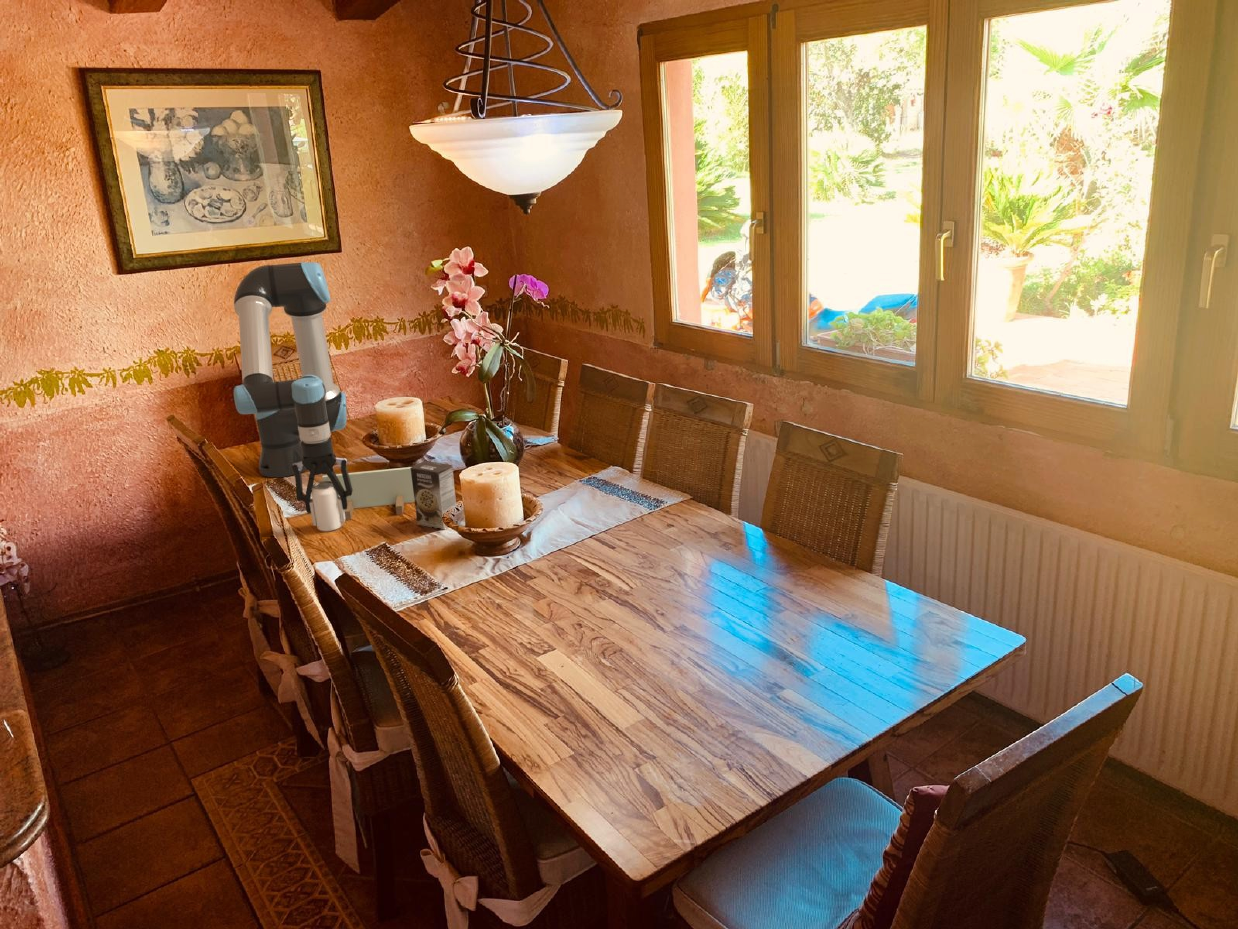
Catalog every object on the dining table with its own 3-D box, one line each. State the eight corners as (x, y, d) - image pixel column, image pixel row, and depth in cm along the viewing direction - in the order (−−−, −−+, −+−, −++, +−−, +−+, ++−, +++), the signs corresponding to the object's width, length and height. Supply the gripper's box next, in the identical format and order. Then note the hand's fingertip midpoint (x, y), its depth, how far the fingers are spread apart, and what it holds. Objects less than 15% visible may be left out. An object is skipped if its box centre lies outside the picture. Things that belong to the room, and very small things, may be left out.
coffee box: (416, 525, 242) (408, 467, 236) (431, 515, 247) (424, 459, 241) (444, 530, 238) (437, 472, 232) (459, 521, 243) (452, 463, 237)
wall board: (328, 509, 254) (322, 475, 251) (423, 499, 258) (419, 466, 254) (324, 522, 246) (318, 487, 242) (423, 512, 249) (418, 477, 246)
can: (327, 534, 238) (320, 491, 234) (312, 528, 242) (305, 486, 238) (348, 525, 243) (341, 483, 239) (332, 520, 247) (326, 478, 243)
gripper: (273, 447, 229) (289, 531, 237) (353, 440, 232) (366, 523, 240) (278, 438, 236) (293, 520, 244) (356, 431, 239) (368, 512, 247)
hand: (329, 521), depth 242 cm, fingers open, 6 cm apart
